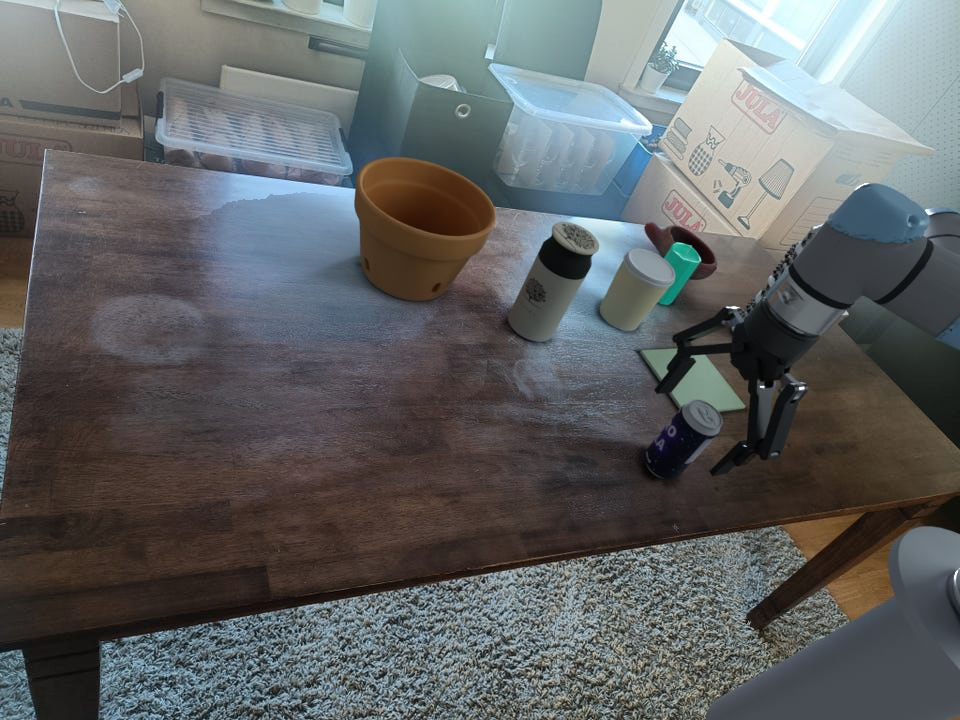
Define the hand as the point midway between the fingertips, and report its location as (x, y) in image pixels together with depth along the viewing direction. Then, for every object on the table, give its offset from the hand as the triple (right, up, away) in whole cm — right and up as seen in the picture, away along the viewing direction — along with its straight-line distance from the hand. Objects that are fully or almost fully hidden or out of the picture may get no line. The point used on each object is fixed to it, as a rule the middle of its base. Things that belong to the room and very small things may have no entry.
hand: (688, 430), depth 84 cm
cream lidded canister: (-3, +17, +29) cm, 34 cm away
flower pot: (-40, +24, +18) cm, 50 cm away
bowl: (+12, +28, +49) cm, 58 cm away
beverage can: (-3, -6, +5) cm, 8 cm away
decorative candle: (+25, +14, +40) cm, 50 cm away
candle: (+7, +22, +40) cm, 46 cm away
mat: (+8, +6, +23) cm, 25 cm away
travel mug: (-20, +15, +19) cm, 31 cm away
